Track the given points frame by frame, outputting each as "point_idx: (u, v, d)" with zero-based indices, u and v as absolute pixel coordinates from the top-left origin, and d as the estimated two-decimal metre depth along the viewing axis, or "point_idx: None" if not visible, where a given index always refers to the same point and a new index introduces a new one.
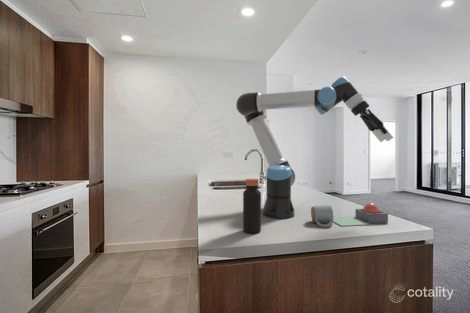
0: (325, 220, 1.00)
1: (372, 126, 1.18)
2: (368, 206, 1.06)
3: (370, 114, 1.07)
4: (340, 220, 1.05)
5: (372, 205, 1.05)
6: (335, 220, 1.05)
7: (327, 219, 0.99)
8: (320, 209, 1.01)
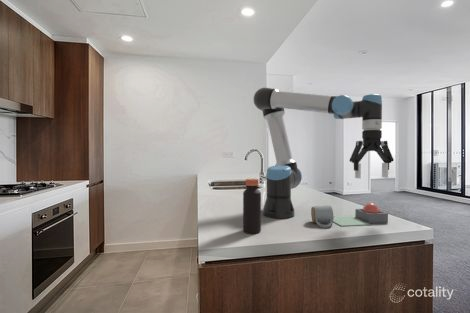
0: (325, 220, 0.99)
1: (383, 158, 1.08)
2: (368, 206, 1.06)
3: (357, 146, 1.05)
4: (340, 220, 1.05)
5: (372, 205, 1.05)
6: (335, 220, 1.05)
7: (327, 219, 0.99)
8: (320, 209, 1.01)
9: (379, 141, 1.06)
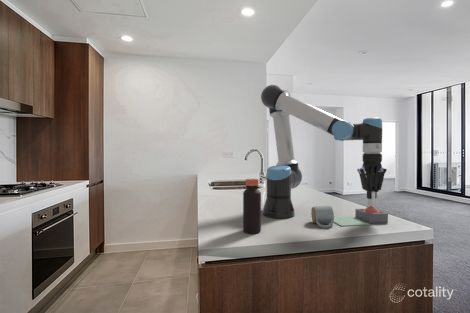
0: (325, 221, 0.99)
1: (373, 184, 1.07)
2: (368, 209, 1.06)
3: (361, 175, 1.06)
4: (340, 220, 1.05)
5: (372, 208, 1.05)
6: (335, 220, 1.05)
7: (327, 220, 0.98)
8: (321, 209, 1.00)
9: (380, 164, 1.06)
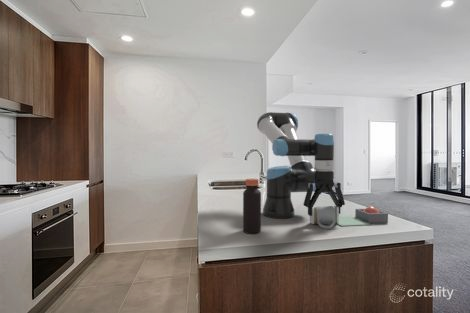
0: (327, 221, 0.98)
1: (334, 201, 1.02)
2: (368, 210, 1.06)
3: (309, 190, 1.00)
4: (340, 220, 1.05)
5: (372, 209, 1.05)
6: None
7: (329, 220, 0.97)
8: (322, 210, 0.99)
9: (332, 182, 1.01)
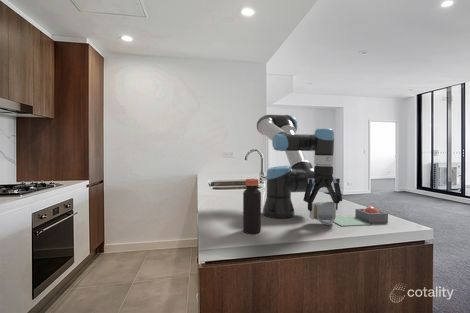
0: (327, 217, 0.98)
1: (332, 196, 1.02)
2: (368, 210, 1.06)
3: (308, 185, 1.00)
4: (340, 220, 1.05)
5: (372, 209, 1.05)
6: (335, 220, 1.05)
7: (329, 216, 0.98)
8: (322, 205, 0.99)
9: (331, 177, 1.01)
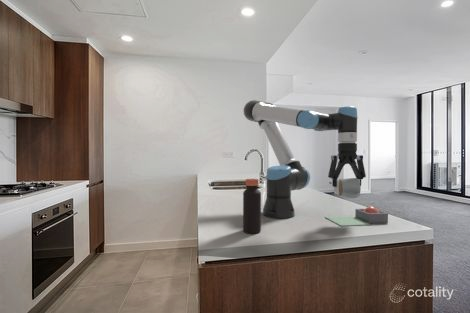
0: (352, 192, 1.01)
1: (355, 173, 1.05)
2: (368, 210, 1.06)
3: (333, 161, 1.04)
4: (340, 220, 1.05)
5: (372, 209, 1.05)
6: (335, 220, 1.05)
7: (354, 191, 1.00)
8: (347, 181, 1.02)
9: (355, 154, 1.04)
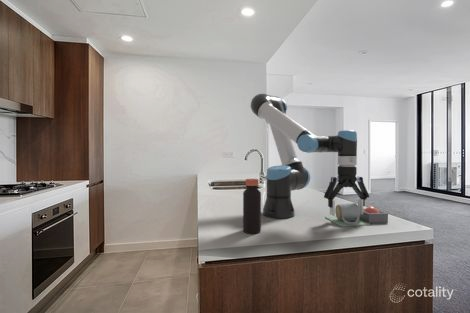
0: (351, 218, 1.01)
1: (358, 194, 1.06)
2: (368, 210, 1.06)
3: (331, 183, 1.04)
4: None
5: (372, 209, 1.05)
6: (335, 220, 1.05)
7: (353, 217, 1.01)
8: (346, 207, 1.02)
9: (354, 177, 1.04)
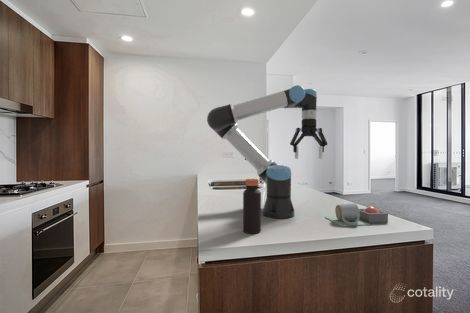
0: (351, 218, 1.01)
1: (318, 142, 1.29)
2: (368, 210, 1.06)
3: (296, 132, 1.27)
4: None
5: (372, 209, 1.05)
6: (335, 220, 1.05)
7: (353, 217, 1.01)
8: (346, 207, 1.02)
9: (315, 128, 1.28)
